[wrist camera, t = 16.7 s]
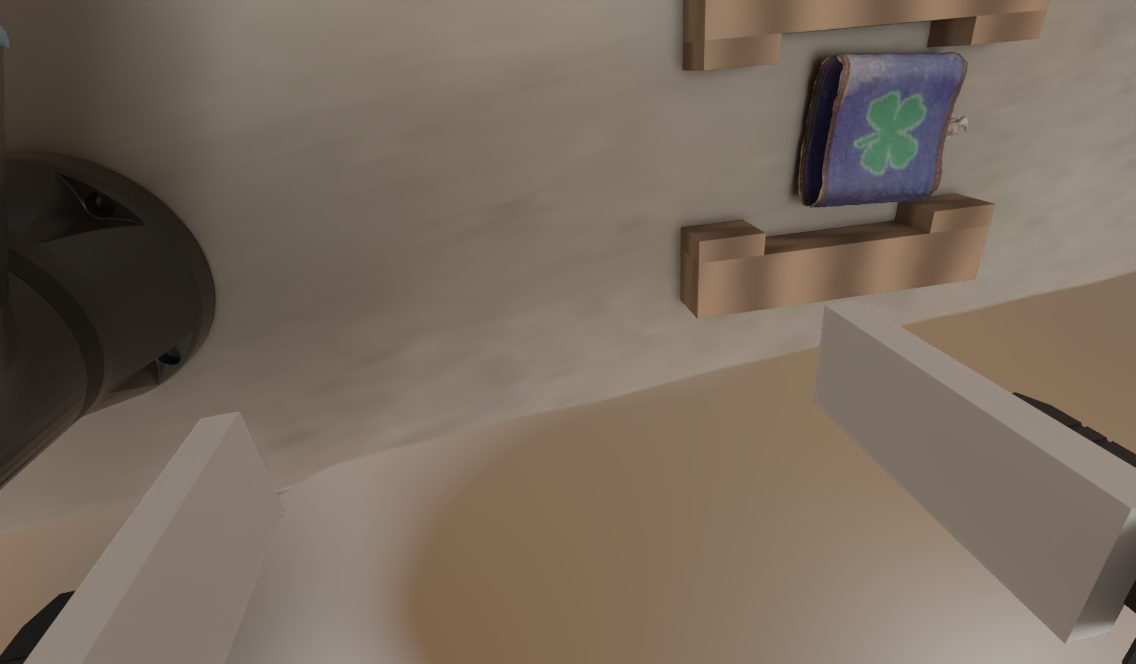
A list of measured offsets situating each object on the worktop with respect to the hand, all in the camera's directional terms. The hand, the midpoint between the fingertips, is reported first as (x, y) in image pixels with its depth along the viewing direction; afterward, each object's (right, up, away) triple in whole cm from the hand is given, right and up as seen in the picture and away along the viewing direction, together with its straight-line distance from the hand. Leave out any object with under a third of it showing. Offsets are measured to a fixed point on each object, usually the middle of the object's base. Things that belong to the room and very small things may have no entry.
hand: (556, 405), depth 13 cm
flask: (+16, +15, +25) cm, 34 cm away
